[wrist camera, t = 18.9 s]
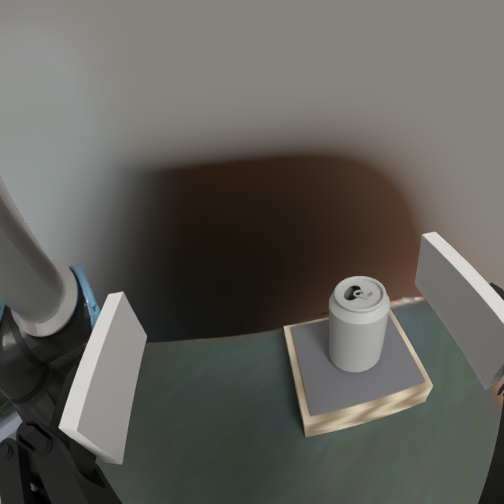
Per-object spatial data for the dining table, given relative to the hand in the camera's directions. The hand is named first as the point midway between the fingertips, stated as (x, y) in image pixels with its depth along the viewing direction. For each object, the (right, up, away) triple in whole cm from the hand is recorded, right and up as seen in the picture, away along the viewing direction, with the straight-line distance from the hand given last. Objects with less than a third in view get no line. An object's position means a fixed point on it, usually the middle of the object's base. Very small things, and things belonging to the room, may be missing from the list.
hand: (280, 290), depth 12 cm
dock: (+14, -17, +29) cm, 37 cm away
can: (+13, -13, +27) cm, 33 cm away
